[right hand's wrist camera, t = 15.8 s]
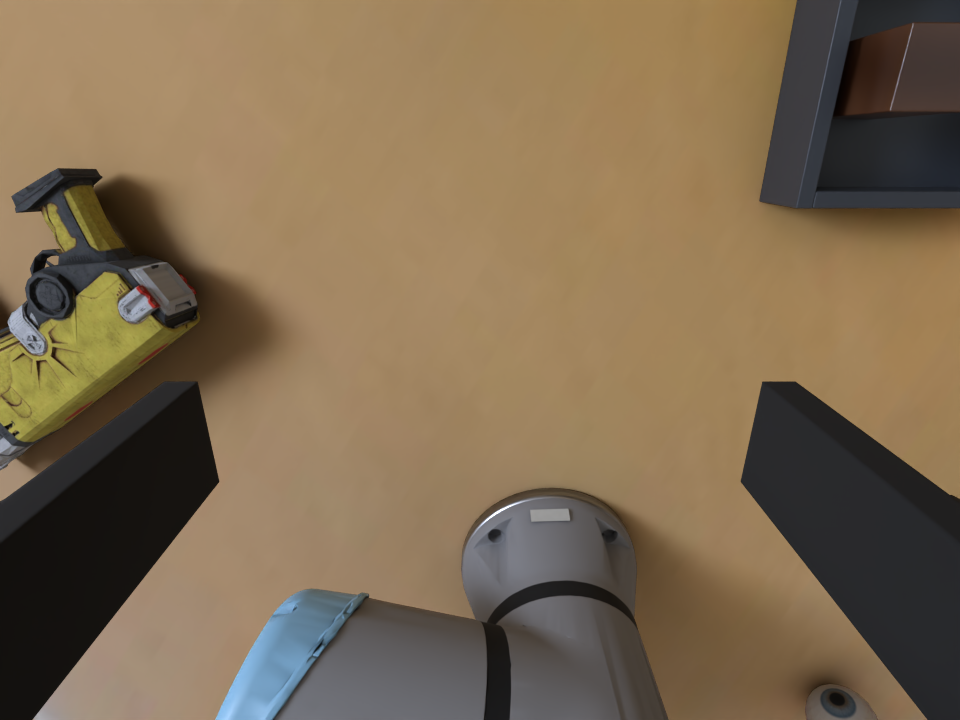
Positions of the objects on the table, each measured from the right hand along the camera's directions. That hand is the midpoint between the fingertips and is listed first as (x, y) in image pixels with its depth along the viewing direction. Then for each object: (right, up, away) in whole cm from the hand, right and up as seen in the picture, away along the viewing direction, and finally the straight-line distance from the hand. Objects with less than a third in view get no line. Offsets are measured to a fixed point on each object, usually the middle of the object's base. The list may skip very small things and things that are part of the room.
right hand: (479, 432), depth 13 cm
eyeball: (+35, -32, +41) cm, 63 cm away
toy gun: (-33, +5, +27) cm, 43 cm away
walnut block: (+23, +19, +21) cm, 36 cm away
